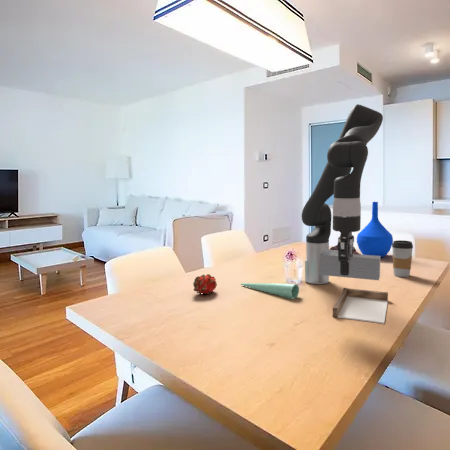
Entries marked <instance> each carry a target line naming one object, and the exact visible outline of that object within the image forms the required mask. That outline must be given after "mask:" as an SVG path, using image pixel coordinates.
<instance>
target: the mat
mask: <svg viewBox="0 0 450 450" xmlns="http://www.w3.org/2000/svg"><path fill="white" fill-rule="evenodd" d="M388 301H389V300H388ZM388 301H385V300H376V299H367V298H357V297H348V296H347V298H346V300H345V302H344V304H343V306H342V308H341V310H340V312H339V315H338V317H337V318H338V319H345V320H346V319H347V320H353V321H362V322H368V323H369V322H370V323H376V324H385V321H386V316H387V315H386V314H387V307H388Z"/></svg>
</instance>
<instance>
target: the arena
mask: <svg viewBox="0 0 450 450" xmlns="http://www.w3.org/2000/svg"><path fill="white" fill-rule="evenodd" d="M347 296H348V297H357V298H367V299H376V300H385V301H389V292H387V291H379V290H368V289H359V288H348V287H344V288H343V289H342V290H341V292H340V294H339V296H338V297H337V300H336V301H335V303H334V305H333V307H332V317H333V318H338V315H339V312H340V310H341V308H342V306H343V304H344V302H345V300H346V298H347Z"/></svg>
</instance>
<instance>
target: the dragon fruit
mask: <svg viewBox="0 0 450 450" xmlns="http://www.w3.org/2000/svg"><path fill="white" fill-rule="evenodd" d="M216 280H217V279H216V277H215V276H212V275H211V274H210V273H209V274H202V275H200V276H196V277H195V278H194V281H193V283H192V285H193V287H194V288H193V291H194V292H196V294H199V293H204V294H206V293H207V294H206V295H209V294H210V295H211V294H212V293H211V292H213V290H214V291H215V290H216V288H217V286H218V284H217V281H216ZM208 293H209V294H208ZM213 293H214V292H213Z"/></svg>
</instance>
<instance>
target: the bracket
mask: <svg viewBox="0 0 450 450" xmlns="http://www.w3.org/2000/svg"><path fill="white" fill-rule="evenodd" d="M359 254H360V253H359ZM359 254H350V255H349V260H350V261H349V274H348V275H347V276H346V275H341V274H340V261H339V260H338V250H324V251H323V252H322V253H321V254H320V275H327V276H329V277H337V278H349V279H361V280H371V281H380V279H381V277H380V276H381V258H380V256H374V255H363V254H361V255H359ZM342 257H346V255H342Z"/></svg>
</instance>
